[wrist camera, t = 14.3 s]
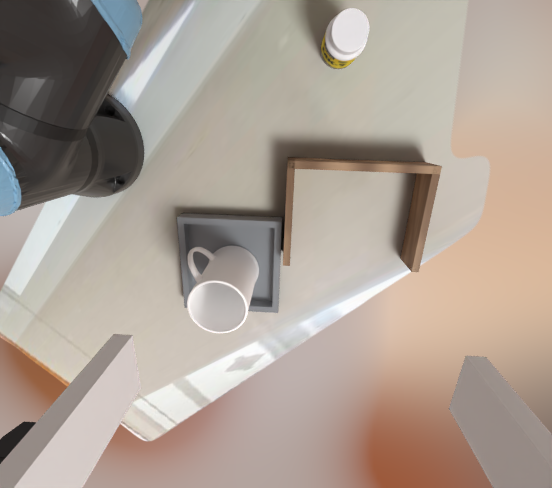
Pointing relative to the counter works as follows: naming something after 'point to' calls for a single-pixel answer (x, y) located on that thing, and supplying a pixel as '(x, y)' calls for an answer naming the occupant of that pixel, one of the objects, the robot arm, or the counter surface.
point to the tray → (234, 232)
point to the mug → (222, 288)
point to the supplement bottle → (345, 38)
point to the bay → (424, 178)
